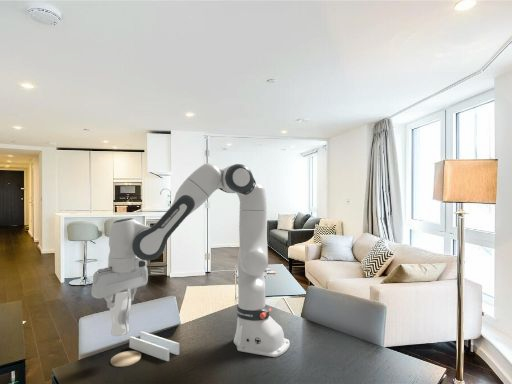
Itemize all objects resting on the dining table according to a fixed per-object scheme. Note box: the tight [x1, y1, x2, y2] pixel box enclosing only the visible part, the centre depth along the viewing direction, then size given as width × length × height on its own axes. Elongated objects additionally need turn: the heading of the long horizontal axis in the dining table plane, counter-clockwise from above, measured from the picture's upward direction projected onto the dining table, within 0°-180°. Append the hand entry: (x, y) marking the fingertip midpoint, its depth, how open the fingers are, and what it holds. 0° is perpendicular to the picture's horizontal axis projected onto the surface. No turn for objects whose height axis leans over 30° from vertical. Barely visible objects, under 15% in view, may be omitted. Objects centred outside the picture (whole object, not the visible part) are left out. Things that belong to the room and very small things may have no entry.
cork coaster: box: [110, 350, 142, 368], centre depth 107 cm, size 10×10×1 cm
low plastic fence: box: [128, 330, 180, 362], centre depth 113 cm, size 20×6×4 cm, turn 61°
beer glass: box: [109, 288, 132, 337], centre depth 105 cm, size 7×7×15 cm
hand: (120, 304), depth 105 cm, fingers closed on beer glass, 6 cm apart
